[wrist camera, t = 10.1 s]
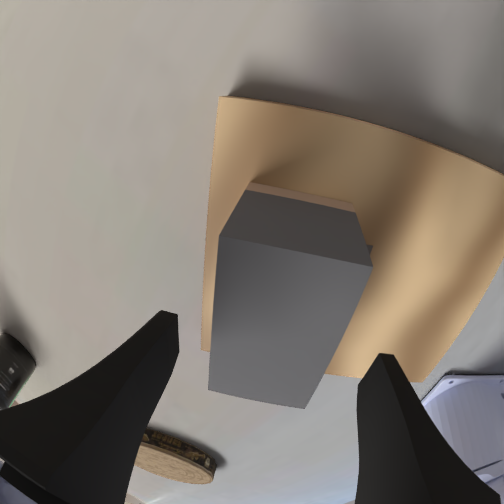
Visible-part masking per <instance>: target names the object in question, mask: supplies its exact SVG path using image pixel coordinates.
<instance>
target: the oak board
mask: <svg viewBox="0 0 504 504" xmlns="http://www.w3.org/2000/svg"><path fill="white" fill-rule="evenodd" d="M249 182H252V183H257V184H263V185H268V186H273V187H278V188H284V189H289V190H293V191H298V192H303V193H308V194H313V195H317V196H322V197H326V198H331V199H335V200H339V201H344V202H348V203H352V204H353V207H354V209H355V212H356V215H357V218H358V221H359V224H360V227H361V230H362V233H363V236H364V239H365V242H366V245H367V248H368V251H369V254H370V258H371V261H372V264H373V270H372V272H371V275H370V277H369V279H368V282H367V284H366V287H365V289H364V291H363V294H362V296H361V298H360V301H359V303H358V305H357V307H356V310H355V312H354V314H353V316H352V318H351V321H350V323H349V325H348V327H347V329H346V331H345V333H344V336H343V338H342V340H341V342H340V344H339V346H338V348H337V350H336V352H335V354H334V356H333V358H332V360H331V362H330V364H329V366H328V367H327V369H326V371H325V373H324V374H331V375H339V376H347V377H356V378H363V377H364V375H365V374H366V372H367V371H368V369H369V368H370V366H371V365H372V363H373V362H374V360H375V358H376V357H377V355H378V354H379V353H386V354H394V356H395V357H396V359H397V361H398V363H399V364H400V366H401V368H402V370H403V371H404V373H405V375H406V377H407V378H408V380H409V382H423V381H424V380H425V379H426V377H427V376H428V375H429V374H430V372H431V371H432V370H433V369H434V367H435V366H436V365H437V364H438V362H439V361H440V360H441V358H442V357H443V356H444V354H445V353H446V352H447V350H448V349H449V348H450V346H451V345H452V343H453V342H454V341H455V339H456V338H457V336H458V335H459V333H460V332H461V330H462V329H463V327H464V326H465V324H466V323H467V321H468V320H469V318H470V317H471V315H472V313H473V312H474V310H475V309H476V307H477V305H478V304H479V302H480V300H481V299H482V297H483V295H484V294H485V292H486V290H487V288H488V287H489V285H490V283H491V281H492V279H493V277H494V276H495V274H496V272H497V270H498V268H499V266H500V264H501V262H502V260H503V258H504V174H502V173H500V172H498V171H496V170H494V169H492V168H490V167H488V166H486V165H484V164H481V163H479V162H477V161H475V160H473V159H470V158H468V157H466V156H463V155H461V154H459V153H456V152H454V151H451V150H449V149H446V148H444V147H441V146H439V145H436V144H433V143H431V142H428V141H425V140H422V139H420V138H417V137H414V136H411V135H408V134H405V133H402V132H399V131H396V130H392V129H389V128H386V127H383V126H379V125H376V124H372V123H369V122H365V121H362V120H358V119H354V118H350V117H346V116H342V115H338V114H334V113H329V112H325V111H320V110H316V109H311V108H306V107H301V106H296V105H290V104H284V103H279V102H272V101H266V100H259V99H252V98H244V97H236V96H220V97H219V102H218V110H217V119H216V128H215V137H214V147H213V157H212V167H211V178H210V190H209V202H208V215H207V229H206V244H205V261H204V279H203V301H202V328H201V350H203V351H207V352H210V346H211V330H212V315H213V301H214V287H215V275H216V263H217V251H218V240H219V234H220V233H221V231H222V229H223V227H224V226H225V224H226V222H227V220H228V219H229V217H230V215H231V213H232V212H233V210H234V208H235V206H236V205H237V203H238V201H239V199H240V198H241V196H242V194H243V193H244V191H245V189H246V187H247V186H248V184H249Z"/></svg>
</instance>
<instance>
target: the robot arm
mask: <svg viewBox="0 0 504 504" xmlns="http://www.w3.org/2000/svg"><path fill="white" fill-rule="evenodd" d="M178 354H179V336H178V314H174V313H170V312H167V311H163V310H161V311H159V312H158V313H157V314H156V315H155V316H154V317H153V318H151V319H150V320H149V321H148V322H147V323H146V324H145V325H144V326H143V327H142V328H141V329H139V330H138V331H137V332H136V333H135V334H134V335H133V336H131V337H130V338H129V339H128V340H127V341H126V342H124V343H123V344H122V345H121V346H120V347H118V348H117V349H116V350H115V351H113V352H112V353H111V354H109V355H108V356H107V357H105V358H104V359H103V360H102V361H100V362H99V363H98V364H96V365H95V366H93V367H92V368H90V369H89V370H87V371H86V372H84V373H83V374H81V375H80V376H78V377H76V378H75V379H73V380H71V381H69V382H68V383H66V384H64V385H62V386H60V387H59V388H57V389H55V390H53V391H51V392H49V393H46V394H44V395H42V396H39V397H37V398H35V399H32V400H30V401H28V402H25V403H22V404H19V405H16V406H13V407H10V408H7V409H3V410H0V458H1V459H3V460H4V461H5V462H4V463H3V462H2V461H0V504H124V502H125V497H126V493H127V489H128V485H129V481H130V477H131V473H132V470H133V466H134V463H135V460H136V457H137V453H138V450H139V447H140V444H141V441H142V438H143V435H144V432H145V430H146V427H147V425H148V423H149V420H150V418H151V416H152V414H153V412H154V410H155V408H156V406H157V404H158V402H159V400H160V398H161V396H162V394H163V391H164V389H165V387H166V385H167V383H168V381H169V379H170V377H171V374H172V372H173V369H174V366H175V363H176V360H177V357H178ZM357 425H358V442H359V475H358V485H357V492H356V499H355V504H504V375H489V376H465V375H447V376H444V377H443V378H442V379H441V380H440V381H439V382H438V384H437V385H436V386H435V387H434V388H433V389H432V390H431V391H430V393H429V394H428V395H427V396H426V397H425V398H424V399H423V400H422V401H420V400H419V398H418V396H417V394H416V393H415V391H414V389H413V387H412V386H411V384H410V382H409V380H408V378H407V377H406V375H405V373H404V371H403V370H402V368H401V366H400V364H399V363H398V361H397V359H396V357H395V356H394V354H386V353H379V354H378V355H377V357H376V358H375V360H374V362H373V363H372V365H371V366H370V368H369V369H368V371H367V372H366V374H365V375H364V377H363V378H362V380H361V381H360V383H359V384H358V393H357Z"/></svg>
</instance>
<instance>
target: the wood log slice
mask: <svg viewBox="0 0 504 504" xmlns="http://www.w3.org/2000/svg"><path fill="white" fill-rule="evenodd" d="M134 465H136V466H138V467H140V468H142V469H144V470H146V471H149V472H151V473H154V474H156V475H159V476H162V477H165V478H168V479H172V480H176V481H180V482H185V483H191V484H207V483H211V482H212V481H213V478H214V474H215V470H216V466H217V464H216V462H215V460H214V459H213V458H212V457H211V456H210V455H208V454H207V453H206V452H204V451H202V450H200V449H199V448H197V447H195V446H193V445H191V444H189V443H186V442H184V441H182V440H180V439H177V438H175V437H172V436H169V435H167V434H164V433H161V432H158V431H155V430H151V429H148V428H146V430H145V432H144V435H143V438H142V441H141V444H140V447H139V450H138V453H137V457H136V460H135V463H134Z"/></svg>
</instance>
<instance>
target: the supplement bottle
mask: <svg viewBox="0 0 504 504" xmlns="http://www.w3.org/2000/svg"><path fill="white" fill-rule="evenodd" d="M34 370H35V362H34V360H33V358H32V356H31V355H30V354H29V352H28V351H27V350H26V349H25V348H24V347H23V345H22V344H21V343H19V342H18V341H17V340H16V339H15V338H13V337H12V336H10V335H9V334H1V335H0V410H3V409H7V408H10V407H11V405H12V404H13V402H14V401H15V399H16V398H17V396H18V394H19V393H20V391H21V390H22V388H23V387H24V385H25V384H26V382H27V381H28V379H29V378H30V376H31V375H32V373H33V372H34Z"/></svg>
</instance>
